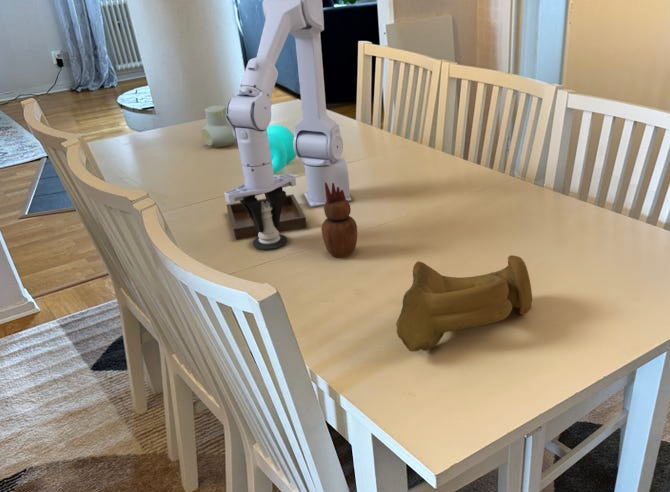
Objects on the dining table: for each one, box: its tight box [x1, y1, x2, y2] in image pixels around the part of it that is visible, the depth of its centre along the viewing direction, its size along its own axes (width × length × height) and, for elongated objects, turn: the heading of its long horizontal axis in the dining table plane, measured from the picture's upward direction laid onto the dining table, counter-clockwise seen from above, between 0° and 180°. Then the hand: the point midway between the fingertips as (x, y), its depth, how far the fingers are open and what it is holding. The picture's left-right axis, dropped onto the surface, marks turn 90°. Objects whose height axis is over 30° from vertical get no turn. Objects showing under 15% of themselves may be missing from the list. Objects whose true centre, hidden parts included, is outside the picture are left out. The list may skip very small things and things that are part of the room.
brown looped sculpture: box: [396, 254, 533, 353], centre depth 108 cm, size 18×13×22 cm
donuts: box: [267, 124, 297, 174], centre depth 173 cm, size 10×10×10 cm
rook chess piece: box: [257, 201, 280, 245], centre depth 137 cm, size 4×4×8 cm
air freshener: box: [200, 104, 237, 148], centre depth 190 cm, size 11×8×10 cm
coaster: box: [252, 233, 288, 251], centre depth 140 cm, size 7×7×1 cm
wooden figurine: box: [320, 182, 358, 258], centre depth 130 cm, size 7×6×15 cm
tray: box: [226, 194, 308, 241], centre depth 148 cm, size 15×14×2 cm
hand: (267, 227), depth 138 cm, fingers closed on rook chess piece, 3 cm apart
